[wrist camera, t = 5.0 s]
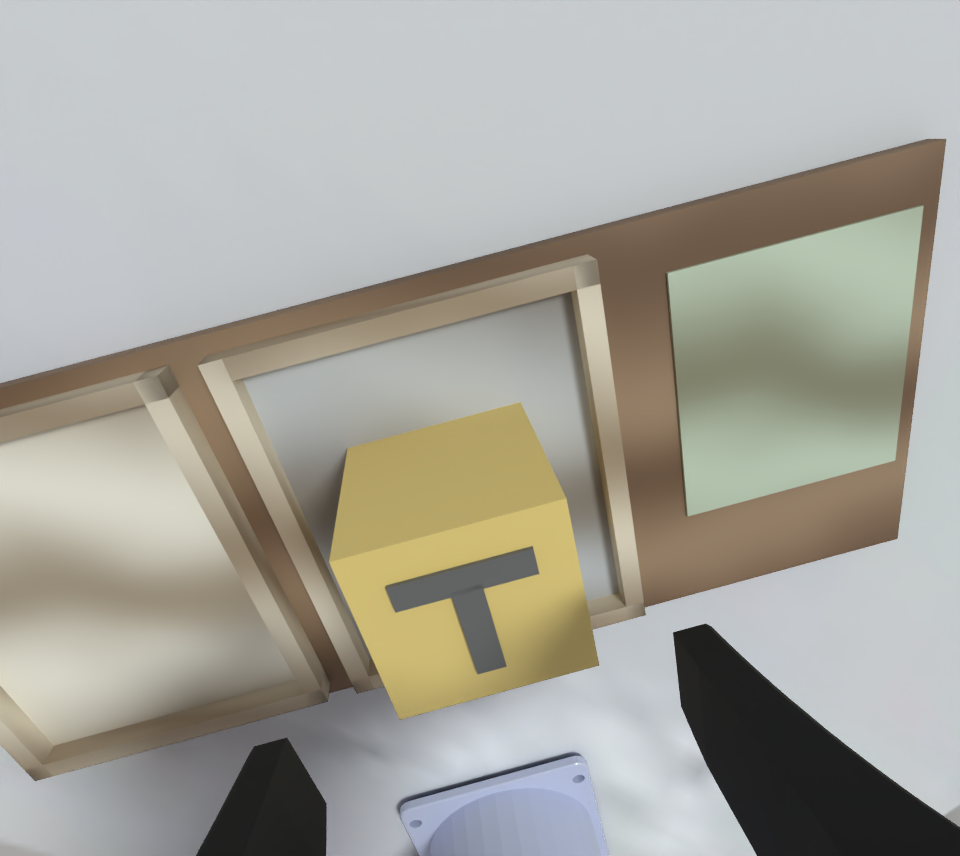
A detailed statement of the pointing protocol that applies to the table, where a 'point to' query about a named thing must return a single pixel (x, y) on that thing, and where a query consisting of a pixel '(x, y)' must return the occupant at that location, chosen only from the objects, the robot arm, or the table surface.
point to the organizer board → (448, 396)
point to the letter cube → (461, 561)
